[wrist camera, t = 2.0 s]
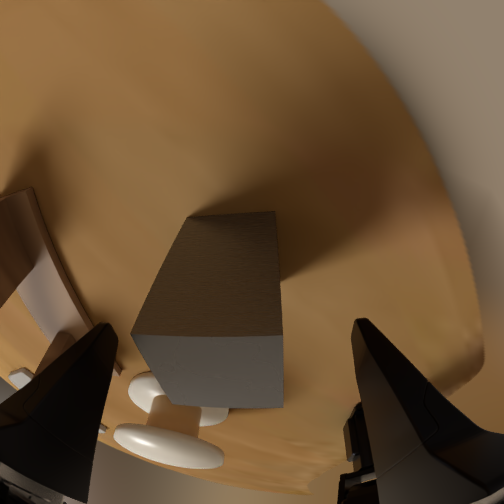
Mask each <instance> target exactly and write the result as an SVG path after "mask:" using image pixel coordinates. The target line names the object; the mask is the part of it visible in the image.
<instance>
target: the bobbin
mask: <svg viewBox="0 0 504 504" xmlns="http://www.w3.org/2000/svg"><path fill="white" fill-rule="evenodd" d="M128 393H129V396H130V398H131V399H132V401H133V402H134V403H135V404H136V405H137V406H139V407H140V408H141V409H143V410H144V411H146V412H147V413H149V416H148V420H147V424H146V425H142V424H132V423H126V424H120V425H118V426H117V427H116V430H115V433H114V439H115V440H116V441H117V442H118V443H119V444H120V445H121V446H123V447H124V448H126V449H128V450H129V451H131V452H133V453H135V454H138V455H140V456H142V457H145V458H148V459H150V460H153V461H157V462H160V463H164V464H168V465H172V466H178V467H184V468H193V469H211V468H217V467H220V466H222V465H223V462H224V452H223V451H222V450H221V449H220V448H219V447H217V446H215V445H213V444H211V443H209V442H207V441H204V440H202V439H199V438H198V433H199V426H210V425H215V424H218V423H221V422H223V421H224V420H225V419H226V418H227V416H228V411H229V408H216V407H199V406H186V405H175V404H172V403H171V401H170V400H169V398H168V397H167V395H166V394H165V392H164V391H163V389H162V388H161V386H160V384H159V383H158V381H157V380H156V378H155V376H154V375H153V373H152V372H146V373H141V374H138V375H136V376H135V377H134V378H133V379H132V380H131V383H130V386H129V389H128Z"/></svg>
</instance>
